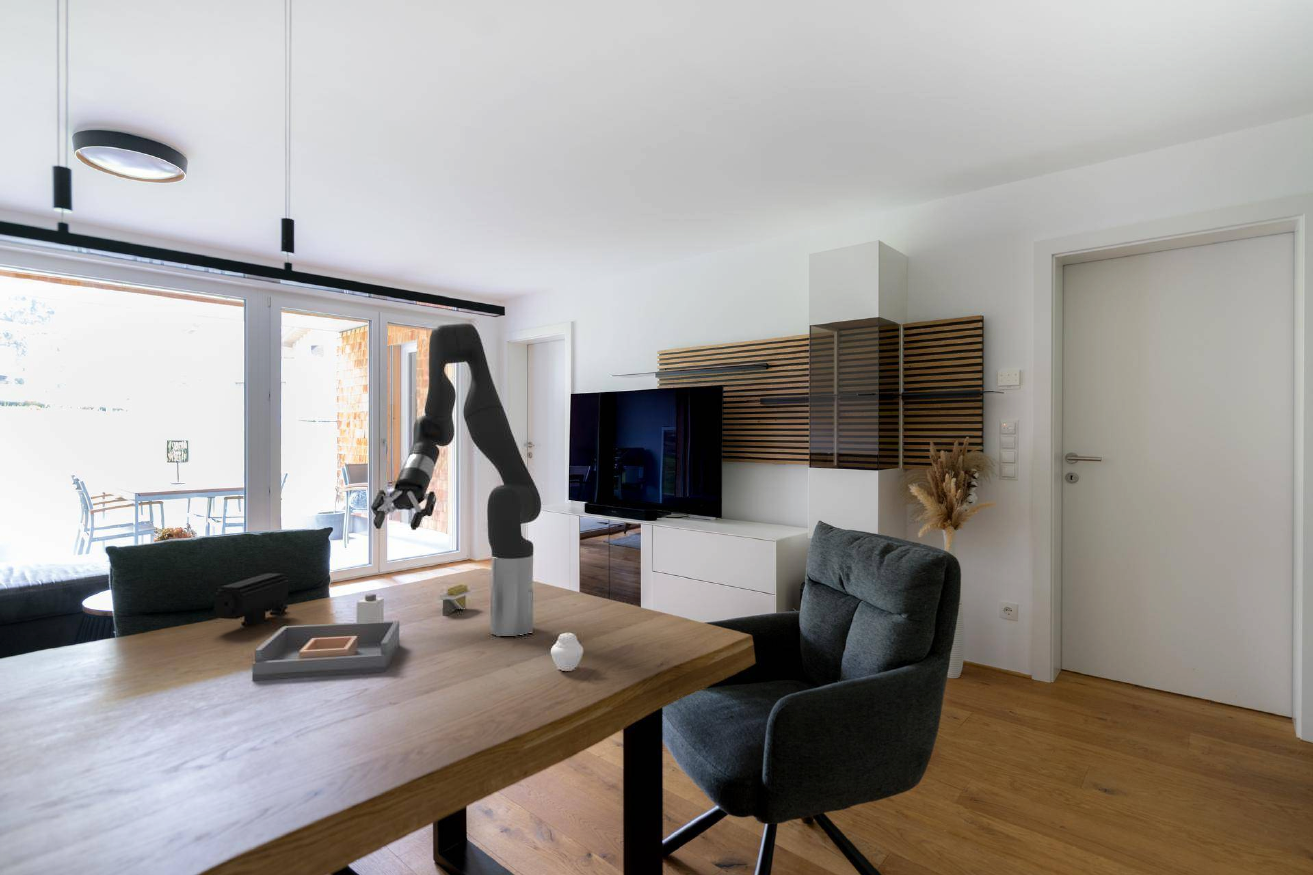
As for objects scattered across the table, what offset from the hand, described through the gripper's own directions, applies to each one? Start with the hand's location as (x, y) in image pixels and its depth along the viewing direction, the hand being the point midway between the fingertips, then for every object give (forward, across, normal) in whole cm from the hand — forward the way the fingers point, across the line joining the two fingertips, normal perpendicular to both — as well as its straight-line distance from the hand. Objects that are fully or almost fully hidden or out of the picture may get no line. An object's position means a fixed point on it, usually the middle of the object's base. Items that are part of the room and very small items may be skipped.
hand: (394, 527), depth 151 cm
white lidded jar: (+36, +46, -5) cm, 58 cm away
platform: (+9, +12, +23) cm, 27 cm away
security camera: (+18, -31, +14) cm, 38 cm away
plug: (+24, 0, +7) cm, 25 cm away
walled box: (+35, 0, -4) cm, 35 cm away
